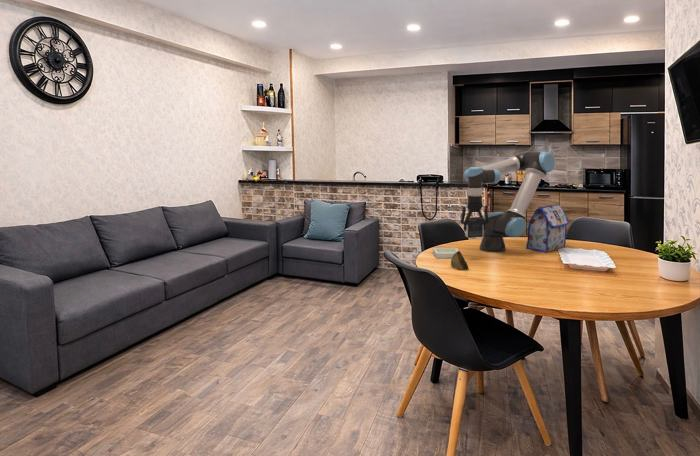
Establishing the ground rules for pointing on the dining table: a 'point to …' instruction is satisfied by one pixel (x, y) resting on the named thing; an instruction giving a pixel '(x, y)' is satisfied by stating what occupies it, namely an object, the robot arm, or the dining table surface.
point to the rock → (459, 261)
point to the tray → (444, 252)
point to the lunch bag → (547, 229)
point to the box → (475, 227)
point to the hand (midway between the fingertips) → (474, 236)
